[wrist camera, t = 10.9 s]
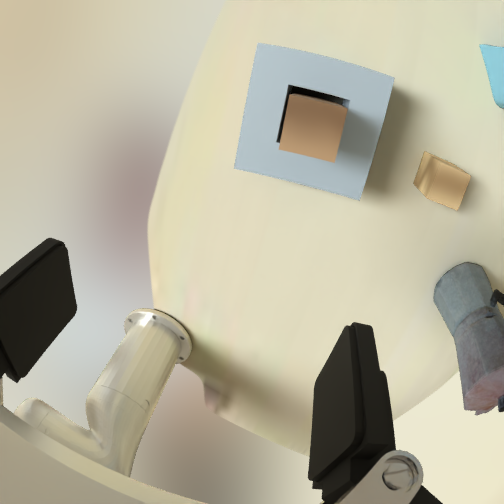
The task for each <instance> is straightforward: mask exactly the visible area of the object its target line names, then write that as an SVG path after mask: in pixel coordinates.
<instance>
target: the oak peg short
mask: <svg viewBox="0 0 504 504" xmlns="http://www.w3.org/2000/svg"><path fill="white" fill-rule="evenodd" d="M470 178H471V176H470V175H469V174H467V173H466V172H465V171H463V170H462V169H460V168H459V167H457V166H456V165H454V164H452V163H450V162H448V161H446V160H443V159H441V158H439V157H437V156H434V155H432V154H430V153H427V152H425V151H424V154H423V157H422V160H421V163H420V166H419V169H418V172H417V175H416V177H415V180H414V183H413V184H414V185H415V186H416V187H417V188H418V189H419V190H420V191H421V192H422V193H423V195H424V196H425V197H426V198H427V199H430V200H432V201H435V202H437V203H440V204H442V205H445V206H447V207H450V208H452V209H455V210H457V211H458V208H459V206H460V203H461V201H462V199H463V196H464V194H465V191H466V188H467V186H468V183H469V181H470Z"/></svg>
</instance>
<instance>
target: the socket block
mask: <svg viewBox="0 0 504 504" xmlns="http://www.w3.org/2000/svg"><path fill="white" fill-rule="evenodd" d="M393 82H394V77H391V76H388V75H386V74H383V73H380V72H377V71H374V70H371V69H368V68H365V67H362V66H358V65H355V64H352V63H348V62H345V61H341V60H338V59H334V58H330V57H326V56H322V55H318V54H314V53H310V52H305V51H301V50H296V49H291V48H286V47H280V46H275V45H269V44H263V43H258V44H257V49H256V53H255V58H254V63H253V68H252V73H251V79H250V84H249V89H248V94H247V99H246V105H245V110H244V115H243V121H242V126H241V132H240V137H239V143H238V148H237V154H236V160H235V166H234V169H238V170H243V171H247V172H252V173H256V174H261V175H265V176H269V177H273V178H277V179H282V180H286V181H290V182H294V183H298V184H301V185H305V186H309V187H313V188H317V189H320V190H324V191H328V192H331V193H335V194H338V195H342V196H346V197H349V198H352V199H356V200H359V201H360V198H361V195H362V192H363V188H364V185H365V182H366V179H367V176H368V173H369V170H370V166H371V163H372V160H373V156H374V153H375V150H376V146H377V143H378V139H379V136H380V132H381V129H382V125H383V122H384V118H385V114H386V110H387V106H388V103H389V99H390V95H391V91H392V87H393ZM292 86H297V87H302V88H306V89H310V90H314V91H318V92H322V93H326V94H330V95H333V96H337V97H340V98H343V102H342V106H343V107H345V108H347V109H348V110H347V114H346V119H345V123H344V127H343V131H342V135H341V139H340V143H339V147H338V151H337V155H336V159H335V163H333V162H329V161H325V160H321V159H317V158H313V157H309V156H305V155H300V154H296V153H292V152H287V151H283V150H279V145H280V140H281V135H282V130H283V125H284V120H285V115H286V110H287V105H288V100H289V95H291V90H292Z"/></svg>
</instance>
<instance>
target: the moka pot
mask: <svg viewBox="0 0 504 504" xmlns="http://www.w3.org/2000/svg"><path fill="white" fill-rule="evenodd" d="M497 301H498V302H499V303H501V304H502V305H504V294H502V293H501V292H500V291H498V290H497V289H496V290H495V291H494V292H493V291H492V288H491V285H490V282H489V280H488V278H487V276H486V274H485V272H484V270H483V268H482V267H481V266H479V265H477V264H473V263H468V262H466V263H463V264H460V265H457V266H456V267H454V268H452V269H451V270H450V271H448V272H447V273H445V274H444V276H443V277H442V278H441V279H440V280H439V282H438V283H437V285H436V287H435V291H434V303H435V305H436V306H437V308H438V310H439V312H440V314H441V315H442V317H443V319H444V321H445V323H446V325H447V327H448V329H449V330H450V332H451V334H452V336H453V337H454V341H455V345H456V351H457V358H458V364H459V371H460V377H461V384H462V393H463V401H464V409H465V410H471V411H473V410H474V411H476V414H475V415H479V414H482V413H487V412H489V411H490V410H492V409H493V408H494V407H495V406H497V405H498V408H499V409H498V410H499V412H503V411H504V319H503V317H502V315H501V313H500V312H499V309H498V306H497Z"/></svg>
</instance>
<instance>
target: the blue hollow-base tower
mask: <svg viewBox="0 0 504 504" xmlns="http://www.w3.org/2000/svg"><path fill="white" fill-rule="evenodd" d="M480 49H481V52H482V55H483V58H484V62H485V65H486V69H487V73H488V77H489V81H490V85H491V89H492V93H493V97H494V100H495V102H496V104H497V105H498V106H499V107H500V108H504V47H496V46H491V45H485V44H483V45H480Z"/></svg>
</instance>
